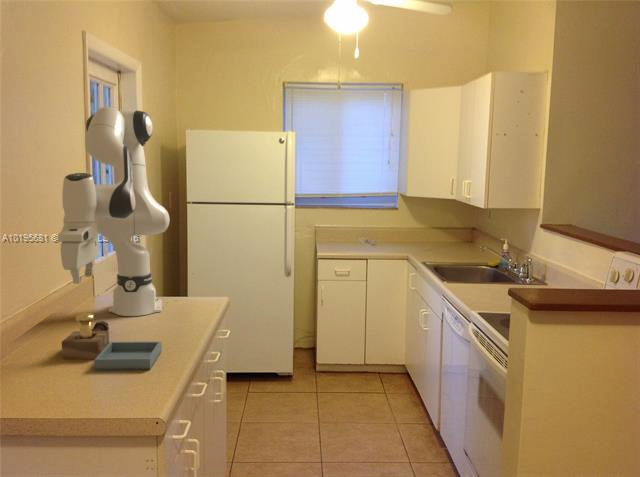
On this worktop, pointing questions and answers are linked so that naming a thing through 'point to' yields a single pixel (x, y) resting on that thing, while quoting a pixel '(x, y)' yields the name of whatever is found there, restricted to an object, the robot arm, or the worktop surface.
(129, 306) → the robot arm
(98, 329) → the bolt
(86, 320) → the pin
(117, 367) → the tray
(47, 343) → the worktop surface
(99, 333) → the holder
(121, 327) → the worktop surface
